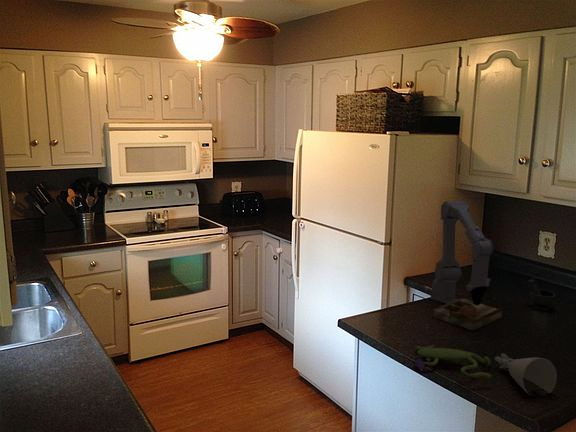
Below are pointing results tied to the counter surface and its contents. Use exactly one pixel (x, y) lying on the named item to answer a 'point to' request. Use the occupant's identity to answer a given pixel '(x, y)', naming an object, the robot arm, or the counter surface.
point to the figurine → (449, 355)
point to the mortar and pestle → (540, 297)
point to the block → (468, 311)
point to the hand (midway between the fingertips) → (476, 304)
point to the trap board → (452, 316)
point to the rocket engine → (530, 371)
